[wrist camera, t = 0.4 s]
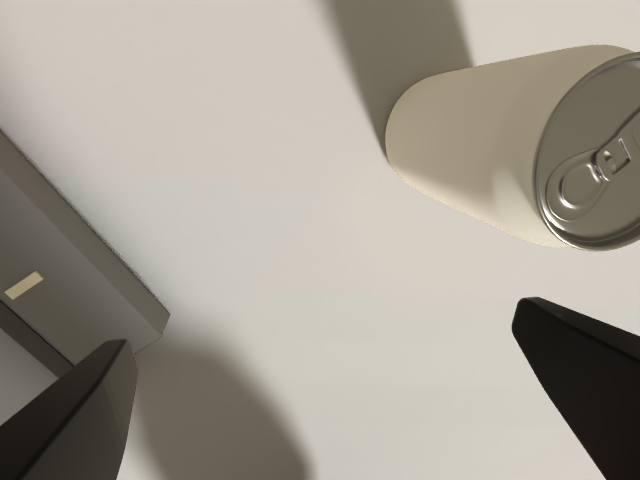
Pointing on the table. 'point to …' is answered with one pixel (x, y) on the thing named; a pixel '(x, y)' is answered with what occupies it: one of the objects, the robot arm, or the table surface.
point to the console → (57, 287)
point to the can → (530, 145)
